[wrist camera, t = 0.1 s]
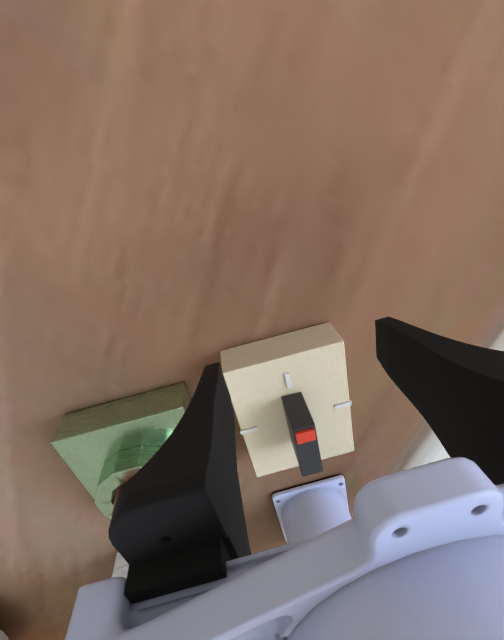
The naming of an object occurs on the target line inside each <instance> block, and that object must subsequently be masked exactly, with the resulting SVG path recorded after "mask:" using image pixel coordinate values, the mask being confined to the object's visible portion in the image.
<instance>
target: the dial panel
mask: <svg viewBox="0 0 504 640" xmlns="http://www.w3.org/2000/svg"><path fill="white" fill-rule="evenodd" d="M220 357H221V367H222V372H223V375H224V378H225V381H226V384H227V387H228V390H229V393H230V396H231V402H232V404H233V407H234V410H235V413H236V416H237V419H238V422H239V425H240V428H241V430H240V434H241V435H243V437H244V440H245V443H246V446H247V449H248V452H249V455H250V458H251V461H252V464H253V467H254V470H255V473H256V476H257V477H261V476H264V475H268V474H272V473H275V472H279V471H283V470H286V469H290V468H293V467H297V466H299V464H298V461H297V457H296V454H295V451H294V448H293V445H292V442H291V437H290V433H289V429H288V425H287V420H286V416H285V412H284V407H283V403H282V399H281V397H284V396H287V395H291V394H295V393H298V392H302V395H303V397H304V399H305V402H306V404H307V407H308V409H309V411H310V414H311V416H312V418H313V421H314V423H315V427H316V433H317V439H318V444H319V450H320V456H321V460H322V459H326V458H330V457H333V456H337V455H341V454H344V453H348V452H351V451H354V444H353V434H352V423H351V413H350V405H352V401H351V400H350V401H349V392H348V381H347V371H346V361H345V350H344V341H343V340H342V338H341V337H340V336H339V334H338V333H337V332H336V330H335V329H334V328H333V326H332V325H331V324H330V322H327V323H323V324H320V325H316V326H312V327H308V328H305V329H301V330H297V331H293V332H290V333H286V334H282V335H278V336H275V337H271V338H267V339H263V340H260V341H256V342H252V343H248V344H245V345H241V346H237V347H233V348H230V349H226V350H222V351H220Z"/></svg>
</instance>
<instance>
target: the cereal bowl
mask: <svg viewBox="0 0 504 640" xmlns="http://www.w3.org/2000/svg"><path fill="white" fill-rule="evenodd" d="M0 640H9V639H8V636H6V635H5V633H4V632H3V631H2V630H0Z"/></svg>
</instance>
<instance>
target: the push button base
mask: <svg viewBox="0 0 504 640" xmlns="http://www.w3.org/2000/svg"><path fill="white" fill-rule="evenodd" d="M190 401H191V397H190V394H189V392H188V389H187V387H186V385H185V383H184V382H183V383H179V384H175V385H171V386H168V387H164V388H160V389H156V390H153V391H149V392H145V393H141V394H138V395H134V396H130V397H127V398H123V399H119V400H115V401H112V402H108V403H104V404H100V405H97V406H93V407H89V408H86V409H82V410H78V411H74V412H71V413H67V414H65V415H64V417H63V419H62V421H61V423H60V425H59V427H58V429H57V431H56V433H55V435H54V437H53V439H52V441H51V444H52V446H53V447H54V448H55V450H56V451H57V452H58V453H59V455H60V456H61V457H62V459H63V460H64V461H65V463H66V464H67V465H68V466H69V468H70V469H71V470H72V472H73V473H74V474H75V476H76V477H77V478H78V479H79V481H80V482H81V483H82V485H83V486H84V487H85V489H86V490H87V491H88V492H89V494H90V495H91V496H92V498H93V499H94V500H95V501H94V504H95V505H96V506H97V508H98V509H99V510H100V512H101V513H102V514H103V515H104V517H106V518H108V519H109V520H110V521H111V518H112V511H113V506H114V502H115V498H116V494H117V491H118V489H119V487H120V486H121V485H122V484H123V483H125V482H127V481H128V480H129V479H130V478H131V477H132V476H133V475H134V474H136V473H137V472H138V471H139V470H140V469H141V468H142V467H143V466H144V465H145V464H146V463H147V462H148V461H149V460H150V459H151V458H152V456H153V455H154V454H155V453H156V452H157V451H158V450H159V449H160V447H161V446H162V445H163V444H164V442H165V441H166V440H167V438H168V437H169V436H170V435H171V433H172V432H173V430H174V429H175V427H176V426H177V424H178V423H179V421H180V419H181V418H182V416H183V414H184V413H185V411H186V409H187V407H188V405H189V403H190Z"/></svg>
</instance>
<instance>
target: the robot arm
mask: <svg viewBox="0 0 504 640" xmlns="http://www.w3.org/2000/svg"><path fill="white" fill-rule="evenodd" d="M375 326H376V353H377V358H378V360H379V362H380V363H381V365H382V367H383V368H384V370H385V371H386V373H387V374H388V376H389V377H390V378H391V379H392V380H393V382H394V383H395V384H396V385H397V386H398V387H399V389H400V390H401V391H402V392H403V393H404V394H405V396H406V397H407V398H408V399H409V400H410V401H411V403H412V404H413V405H414V406H415V407H416V408H417V410H418V411H419V412H420V413H421V415H422V416H423V417H424V418H425V420H426V421H427V423H428V424H429V426H430V427H431V428H432V430H433V431H434V433H435V434H436V436H437V437H438V439H439V440H440V442H441V443H442V445H443V446H444V448H445V450H446V451H447V453H448V454H449V456H450V457H451V458H447V459H444V460H440V461H436V462H432V463H429V464H425V465H422V466H418V467H414V468H411V469H407V470H404V471H400V472H396V473H393V474H389V475H386V476H382V477H379V478H377V479H375V480H373V481H371V482H368V483H367V484H366V485H365V486H364V487H362V488H361V489H360V490H359V491H358V492H357V494H356V498H355V501H354V504H353V507H354V518H351V515H350V513H349V510H348V502H347V494H346V486H345V479H344V477H343V476H342V475H338V476H335V477H331V478H328V479H324V480H320V481H317V482H313V483H310V484H306V485H302V486H299V487H295V488H292V489H288V490H284V491H281V492H277V493H274V494H273V495H272V499H273V503H274V506H275V509H276V512H277V515H278V519H279V522H280V525H281V528H282V531H283V534H284V538H285V541H286V542H287V543H288V544H287V545H283V546H280V547H276V548H272V549H269V550H265V551H262V552H258V553H255V554H251V552H250V546H249V540H248V535H247V529H246V523H245V517H244V511H243V505H242V499H241V492H240V486H239V479H238V473H237V463H236V444H235V424H234V413H233V407H232V402H231V396H230V393H229V390H228V387H227V384H226V381H225V378H224V375H223V372H222V369H221V366H220V363H219V362H217V363H214V364H210V365H206V366H205V368H204V370H203V373H202V376H201V378H200V381H199V383H198V386H197V388H196V390H195V393H194V395H193V397H192V399H191V401H190V403H189V405H188V407H187V409H186V411H185V413H184V414H183V416H182V418H181V419H180V421H179V423H178V424H177V426H176V427H175V429H174V430H173V432H172V433H171V435H170V436H169V437H168V438H167V440H166V441H165V442H164V444H163V445H162V446H161V447H160V449H159V450H158V451H157V452H156V453H155V454H154V455H153V456H152V458H151V459H150V460H149V461H148V462H147V463H146V464H145V465H144V466H143V467H142V468H141V469H140V470H139V471H138V472H137V473H136V474H134V475H133V476H132V477H131V478H130V479H129V480H128V481H127V482H126V483H125V484H123V485H122V486H121V488H120V491H119V494H118V496H117V499H116V503H115V506H114V510H113V514H112V518H111V522H110V527H109V539H110V541H111V543H112V545H113V546H114V547H115V548H116V549H117V551H118V552H119V553H120V554H121V556H122V557H123V558H124V559H125V561H126V562H127V563H128V564H129V568H128V573H127V579H126V578H124V577H112V578H109V579H105V580H102V581H98V582H94V583H91V584H87V585H84V586H82V587H80V588H79V590H78V594H77V597H76V601H75V605H74V608H73V612H72V616H71V619H70V623H69V626H68V630H67V634H66V637H65V640H504V351H498V350H492V349H488V348H483V347H479V346H474V345H470V344H466V343H463V342H459V341H456V340H452V339H449V338H446V337H443V336H440V335H437V334H434V333H431V332H428V331H426V330H423V329H420V328H418V327H415V326H413V325H410V324H407V323H405V322H402V321H399V320H397V319H394V318H391V317H386V318H382V319H378V320H375Z"/></svg>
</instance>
